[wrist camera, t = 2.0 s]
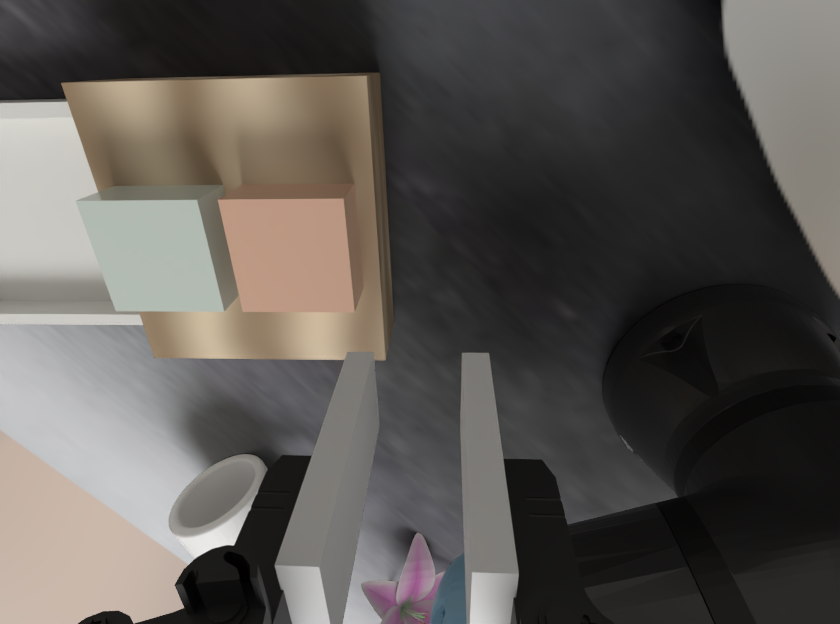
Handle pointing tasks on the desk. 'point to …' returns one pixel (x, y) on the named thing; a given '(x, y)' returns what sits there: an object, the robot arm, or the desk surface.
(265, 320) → the oak board
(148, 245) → the tile grey
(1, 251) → the tray
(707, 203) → the desk surface
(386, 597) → the lily
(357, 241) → the tile terracotta
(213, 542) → the mug
